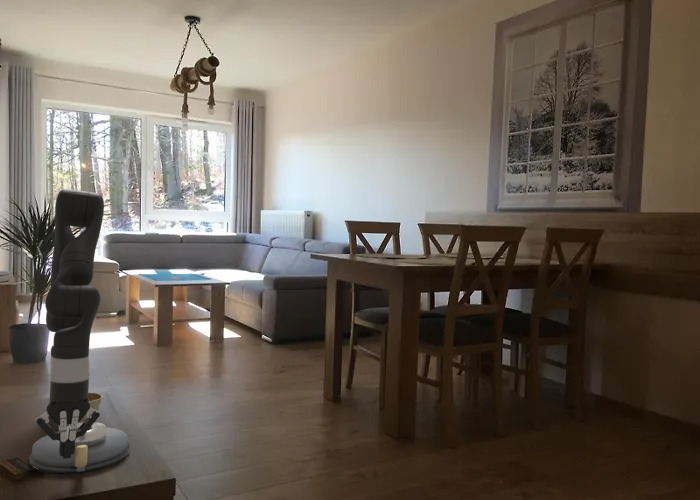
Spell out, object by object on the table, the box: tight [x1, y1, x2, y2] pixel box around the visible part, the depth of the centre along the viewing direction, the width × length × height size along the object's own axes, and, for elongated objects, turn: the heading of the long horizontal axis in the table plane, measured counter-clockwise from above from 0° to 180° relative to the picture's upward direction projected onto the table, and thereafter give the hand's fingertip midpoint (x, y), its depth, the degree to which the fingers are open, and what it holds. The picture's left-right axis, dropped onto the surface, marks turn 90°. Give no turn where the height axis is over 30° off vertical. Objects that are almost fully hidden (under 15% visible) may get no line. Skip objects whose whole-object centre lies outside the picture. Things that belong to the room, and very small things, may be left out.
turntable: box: [31, 426, 129, 472], centre depth 137 cm, size 26×21×6 cm
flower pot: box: [78, 392, 103, 423], centre depth 158 cm, size 9×9×9 cm
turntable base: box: [29, 442, 131, 475], centre depth 139 cm, size 22×22×1 cm
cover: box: [67, 421, 107, 448], centre depth 139 cm, size 10×10×3 cm
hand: (66, 457), depth 124 cm, fingers closed
